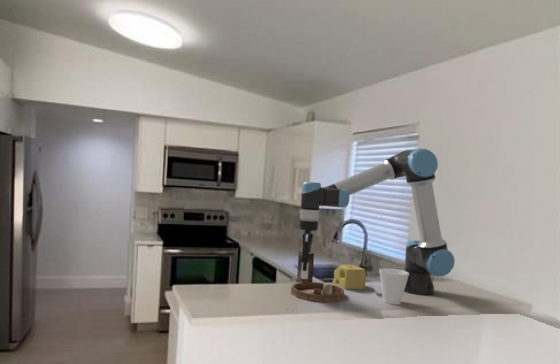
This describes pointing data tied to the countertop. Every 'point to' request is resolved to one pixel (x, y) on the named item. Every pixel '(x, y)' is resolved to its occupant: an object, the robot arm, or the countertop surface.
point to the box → (310, 268)
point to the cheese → (349, 277)
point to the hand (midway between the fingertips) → (304, 276)
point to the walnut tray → (310, 294)
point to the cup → (393, 285)
